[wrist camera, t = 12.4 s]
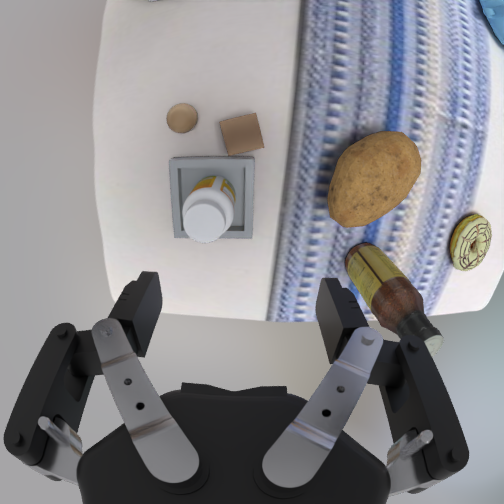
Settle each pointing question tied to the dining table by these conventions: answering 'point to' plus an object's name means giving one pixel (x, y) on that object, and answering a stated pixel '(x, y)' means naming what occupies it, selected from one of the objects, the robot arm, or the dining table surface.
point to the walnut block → (241, 134)
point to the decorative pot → (495, 16)
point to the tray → (230, 167)
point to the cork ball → (181, 118)
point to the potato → (373, 178)
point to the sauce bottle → (390, 295)
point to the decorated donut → (470, 242)
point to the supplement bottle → (209, 209)
